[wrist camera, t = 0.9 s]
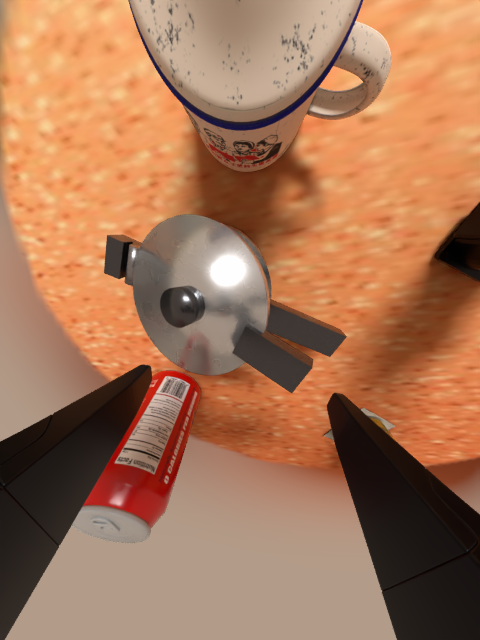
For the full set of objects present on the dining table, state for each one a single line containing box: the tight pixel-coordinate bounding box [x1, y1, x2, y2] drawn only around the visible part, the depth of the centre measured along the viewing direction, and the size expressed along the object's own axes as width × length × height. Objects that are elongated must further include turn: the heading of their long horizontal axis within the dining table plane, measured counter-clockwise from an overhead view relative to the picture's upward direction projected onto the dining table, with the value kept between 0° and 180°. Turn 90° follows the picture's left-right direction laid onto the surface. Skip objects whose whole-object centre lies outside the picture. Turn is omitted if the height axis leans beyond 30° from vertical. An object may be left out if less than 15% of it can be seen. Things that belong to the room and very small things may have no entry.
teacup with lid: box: [129, 0, 391, 172], centre depth 9 cm, size 12×9×12 cm
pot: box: [104, 224, 347, 357], centre depth 18 cm, size 22×11×6 cm, turn 67°
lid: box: [124, 215, 313, 393], centre depth 12 cm, size 15×11×2 cm
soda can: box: [72, 370, 201, 543], centre depth 21 cm, size 8×8×15 cm
